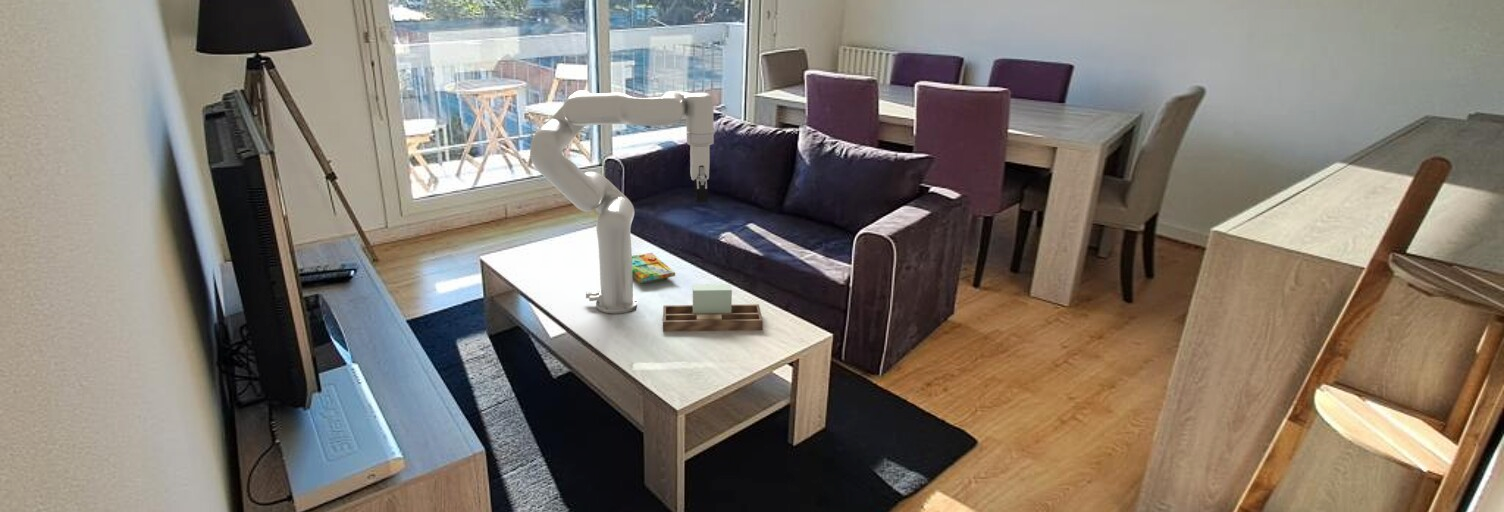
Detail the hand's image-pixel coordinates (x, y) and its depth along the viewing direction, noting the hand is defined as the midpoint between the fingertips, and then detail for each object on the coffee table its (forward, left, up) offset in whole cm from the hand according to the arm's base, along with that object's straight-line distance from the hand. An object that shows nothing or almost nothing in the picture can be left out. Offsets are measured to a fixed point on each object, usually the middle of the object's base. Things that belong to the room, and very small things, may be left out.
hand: (700, 196), depth 225 cm
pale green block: (+3, -11, -34) cm, 36 cm away
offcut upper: (+2, -16, -32) cm, 36 cm away
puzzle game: (-17, +26, -36) cm, 47 cm away
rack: (+3, -13, -35) cm, 37 cm away
